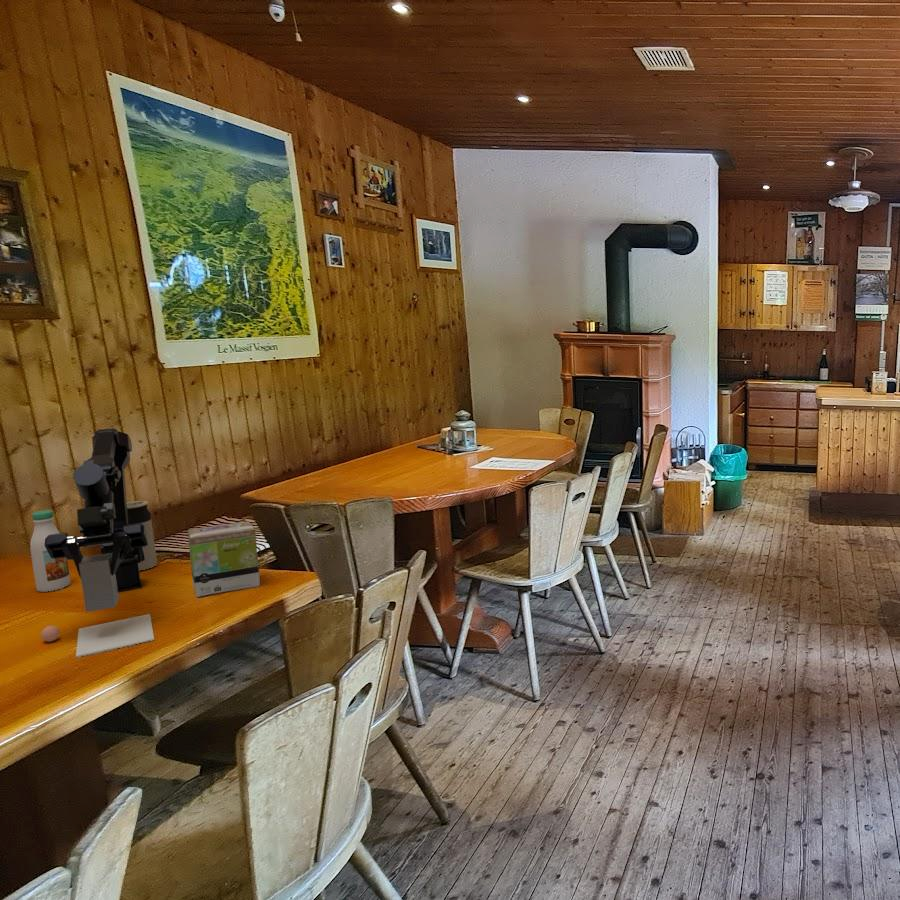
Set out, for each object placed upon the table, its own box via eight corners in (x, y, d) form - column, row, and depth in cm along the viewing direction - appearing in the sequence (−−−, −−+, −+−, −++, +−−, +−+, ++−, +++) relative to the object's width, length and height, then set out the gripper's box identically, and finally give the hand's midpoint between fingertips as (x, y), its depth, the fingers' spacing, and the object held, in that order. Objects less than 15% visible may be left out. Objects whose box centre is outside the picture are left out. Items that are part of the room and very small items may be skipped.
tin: (90, 602, 146) (83, 556, 145) (118, 598, 148) (112, 552, 146) (86, 611, 141) (78, 564, 140) (115, 607, 143) (108, 559, 141)
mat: (150, 615, 155) (149, 613, 155) (154, 640, 141) (154, 638, 141) (79, 630, 149) (78, 628, 149) (76, 658, 135) (75, 656, 135)
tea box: (196, 599, 164) (188, 538, 162) (193, 586, 173) (185, 528, 171) (261, 586, 170) (255, 527, 168) (255, 575, 179) (249, 519, 177)
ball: (60, 636, 146) (58, 621, 146) (59, 641, 144) (57, 626, 143) (43, 640, 145) (40, 625, 145) (41, 645, 142) (39, 630, 142)
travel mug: (162, 566, 193) (153, 502, 190) (132, 574, 187) (123, 508, 184) (150, 561, 198) (141, 499, 195) (121, 569, 193) (112, 505, 190)
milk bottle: (35, 595, 175) (23, 517, 172) (37, 586, 182) (25, 511, 179) (70, 588, 178) (58, 511, 176) (71, 580, 185) (60, 506, 182)
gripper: (39, 496, 142) (34, 564, 133) (138, 485, 148) (140, 549, 139) (54, 525, 151) (49, 591, 142) (147, 514, 156) (149, 576, 147)
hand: (97, 576), depth 142 cm, fingers closed on tin, 5 cm apart
